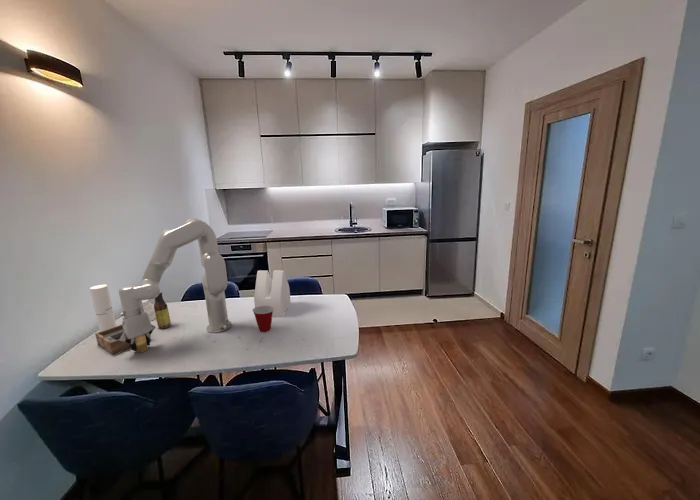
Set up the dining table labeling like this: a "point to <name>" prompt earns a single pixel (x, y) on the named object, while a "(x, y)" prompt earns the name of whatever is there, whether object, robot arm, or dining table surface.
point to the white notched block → (272, 291)
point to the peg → (141, 343)
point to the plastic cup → (263, 317)
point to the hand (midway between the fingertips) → (141, 347)
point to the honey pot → (149, 309)
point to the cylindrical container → (103, 307)
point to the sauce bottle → (161, 312)
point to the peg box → (112, 340)
